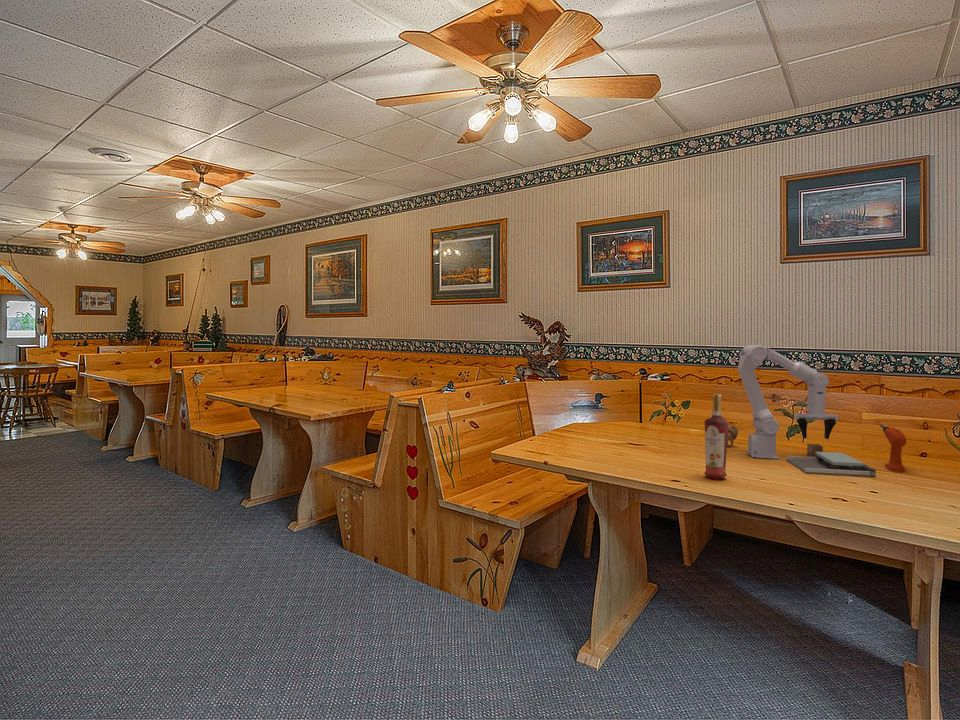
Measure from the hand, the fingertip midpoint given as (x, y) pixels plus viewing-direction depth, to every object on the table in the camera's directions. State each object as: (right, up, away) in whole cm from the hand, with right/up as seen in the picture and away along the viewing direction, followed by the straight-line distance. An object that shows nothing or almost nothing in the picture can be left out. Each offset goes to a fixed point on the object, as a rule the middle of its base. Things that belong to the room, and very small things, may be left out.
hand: (815, 438), depth 202 cm
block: (0, -8, 0) cm, 8 cm away
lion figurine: (-26, -7, +20) cm, 34 cm away
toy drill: (+18, -8, -13) cm, 24 cm away
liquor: (-51, -9, -27) cm, 59 cm away
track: (-6, -8, -16) cm, 19 cm away
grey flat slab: (-3, -8, -16) cm, 19 cm away
